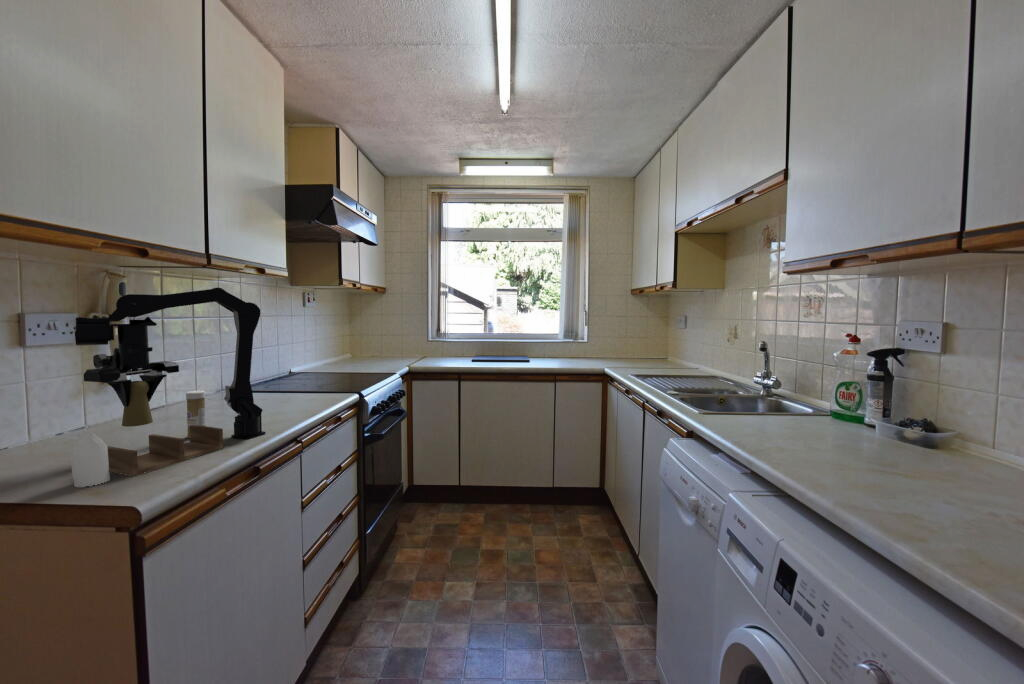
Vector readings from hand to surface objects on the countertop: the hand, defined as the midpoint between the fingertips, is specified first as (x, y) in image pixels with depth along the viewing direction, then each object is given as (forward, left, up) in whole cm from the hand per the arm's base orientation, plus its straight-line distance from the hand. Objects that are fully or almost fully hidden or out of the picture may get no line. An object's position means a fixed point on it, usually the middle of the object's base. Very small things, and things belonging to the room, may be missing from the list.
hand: (136, 404), depth 109 cm
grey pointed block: (+16, +12, -13) cm, 24 cm away
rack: (0, +11, -13) cm, 17 cm away
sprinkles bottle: (-16, -1, -13) cm, 20 cm away
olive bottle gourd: (0, 0, -5) cm, 5 cm away
